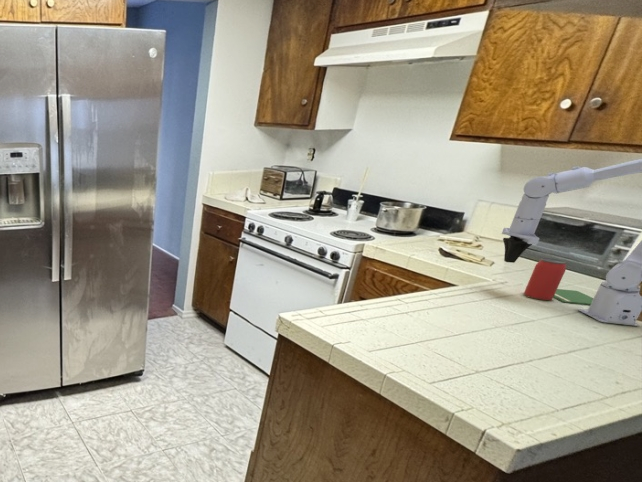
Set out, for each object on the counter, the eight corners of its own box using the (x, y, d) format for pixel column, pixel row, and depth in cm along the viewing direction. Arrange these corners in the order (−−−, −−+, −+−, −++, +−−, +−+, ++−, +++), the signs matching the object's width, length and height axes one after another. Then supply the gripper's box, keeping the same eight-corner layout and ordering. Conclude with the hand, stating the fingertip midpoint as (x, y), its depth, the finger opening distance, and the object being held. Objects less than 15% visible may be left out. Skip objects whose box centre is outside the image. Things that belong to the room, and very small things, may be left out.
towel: (608, 307, 139) (609, 305, 139) (563, 302, 142) (564, 300, 142) (576, 292, 152) (577, 290, 151) (535, 288, 154) (535, 286, 154)
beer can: (540, 294, 149) (556, 258, 144) (558, 301, 143) (575, 263, 138) (517, 293, 149) (532, 256, 145) (534, 300, 143) (550, 262, 139)
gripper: (497, 213, 147) (481, 254, 152) (524, 221, 134) (506, 266, 140) (525, 214, 145) (508, 256, 151) (555, 223, 133) (535, 269, 138)
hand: (509, 261), depth 145 cm, fingers closed
